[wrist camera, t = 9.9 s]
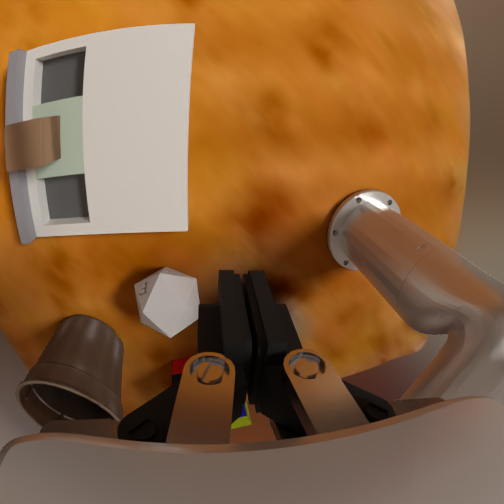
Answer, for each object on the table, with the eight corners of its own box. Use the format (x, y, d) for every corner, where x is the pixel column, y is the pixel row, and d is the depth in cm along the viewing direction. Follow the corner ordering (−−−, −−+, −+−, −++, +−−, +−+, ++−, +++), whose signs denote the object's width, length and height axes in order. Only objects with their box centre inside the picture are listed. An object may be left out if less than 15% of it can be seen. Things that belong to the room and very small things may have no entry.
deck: (194, 29, 25) (194, 18, 21) (188, 223, 36) (187, 238, 32) (27, 56, 21) (9, 52, 17) (36, 230, 32) (21, 244, 28)
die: (199, 253, 39) (151, 266, 30) (223, 313, 39) (181, 341, 30) (157, 271, 42) (110, 286, 33) (179, 325, 42) (136, 350, 33)
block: (60, 115, 24) (39, 117, 20) (61, 157, 27) (41, 166, 22) (26, 121, 23) (4, 125, 19) (28, 162, 26) (6, 171, 21)
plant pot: (44, 291, 36) (1, 366, 22) (139, 315, 41) (125, 404, 27) (53, 359, 42) (30, 429, 28) (132, 379, 47) (125, 455, 33)
